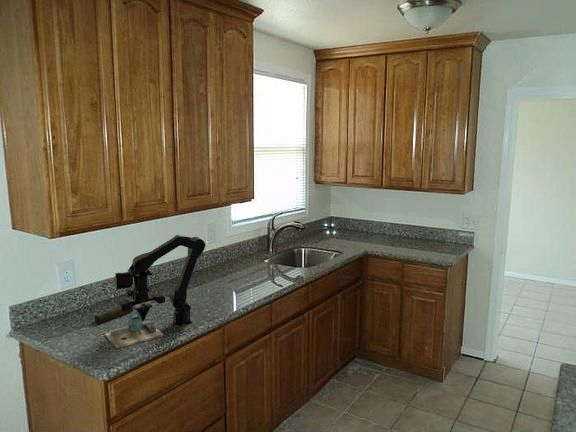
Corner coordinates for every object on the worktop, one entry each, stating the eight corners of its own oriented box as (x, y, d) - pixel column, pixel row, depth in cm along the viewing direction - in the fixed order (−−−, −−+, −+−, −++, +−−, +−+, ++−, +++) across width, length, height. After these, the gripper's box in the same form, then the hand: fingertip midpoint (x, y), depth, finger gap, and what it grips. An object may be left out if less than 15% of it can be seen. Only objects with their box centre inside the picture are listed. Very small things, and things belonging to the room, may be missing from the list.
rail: (149, 325, 196) (149, 320, 196) (151, 326, 195) (151, 322, 195) (109, 335, 186) (109, 330, 186) (111, 336, 184) (110, 332, 184)
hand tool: (99, 325, 198) (98, 315, 197) (94, 323, 200) (93, 313, 199) (136, 313, 213) (136, 303, 212) (131, 311, 215) (131, 301, 214)
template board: (149, 324, 199) (149, 322, 199) (163, 336, 187) (163, 334, 187) (105, 335, 187) (105, 333, 187) (117, 348, 176) (117, 346, 176)
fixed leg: (150, 326, 195) (150, 318, 194) (156, 331, 190) (155, 323, 189) (145, 328, 193) (144, 319, 193) (150, 332, 189) (150, 324, 188)
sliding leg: (137, 326, 194) (137, 315, 193) (145, 332, 188) (144, 321, 187) (128, 328, 192) (127, 317, 191) (135, 335, 185) (134, 323, 184)
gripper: (155, 277, 202) (156, 310, 205) (112, 285, 191) (114, 320, 194) (165, 283, 194) (166, 318, 196) (121, 292, 182) (122, 328, 185)
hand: (142, 321), depth 193 cm, fingers closed
